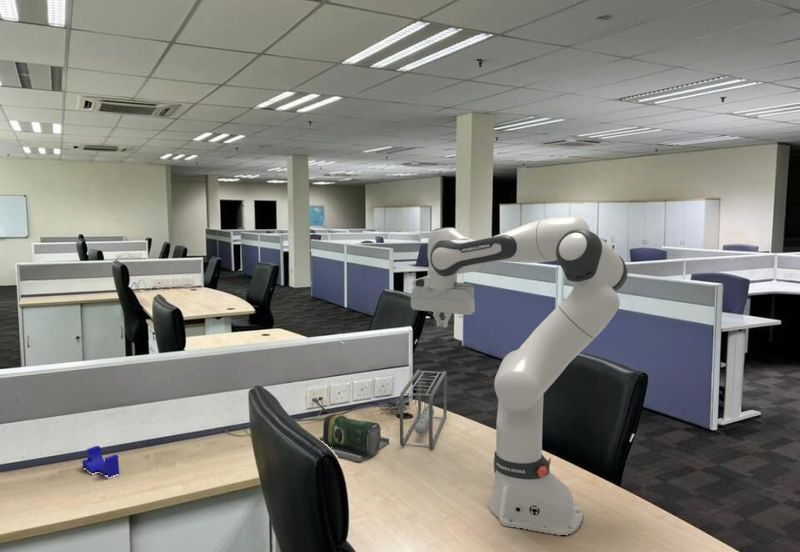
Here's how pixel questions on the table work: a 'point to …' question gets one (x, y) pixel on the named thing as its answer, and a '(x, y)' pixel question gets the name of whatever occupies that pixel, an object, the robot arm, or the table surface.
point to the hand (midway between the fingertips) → (442, 326)
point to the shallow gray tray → (353, 455)
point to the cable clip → (101, 462)
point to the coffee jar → (352, 434)
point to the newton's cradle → (428, 411)
